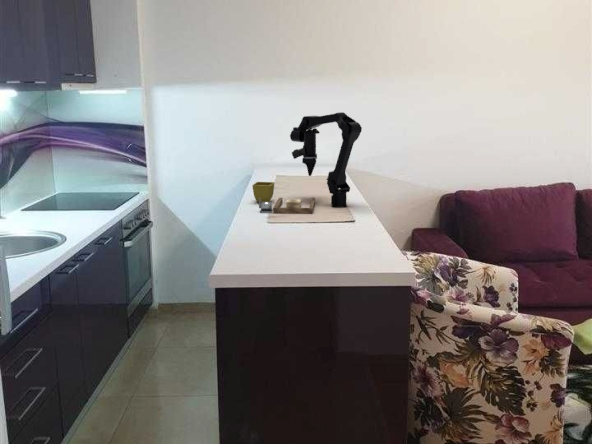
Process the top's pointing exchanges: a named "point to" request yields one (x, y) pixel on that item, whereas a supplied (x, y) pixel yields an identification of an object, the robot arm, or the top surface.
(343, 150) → the robot arm
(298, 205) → the box
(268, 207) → the winch drum
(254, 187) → the flower pot
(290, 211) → the bay
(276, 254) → the top surface
